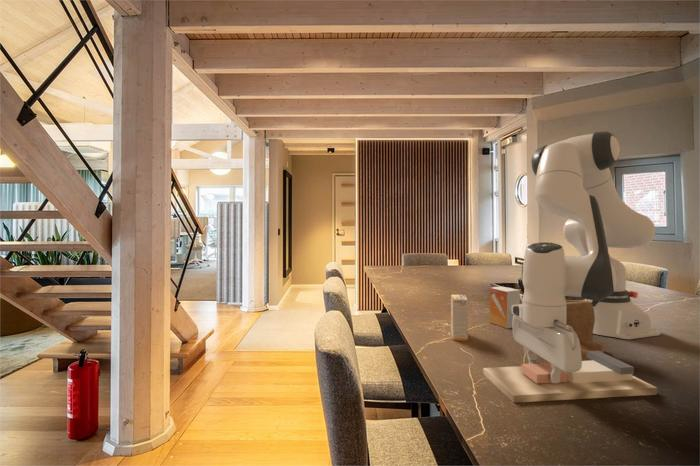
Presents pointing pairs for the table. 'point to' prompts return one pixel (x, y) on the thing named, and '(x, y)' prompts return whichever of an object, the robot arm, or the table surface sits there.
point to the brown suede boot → (582, 325)
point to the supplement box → (459, 317)
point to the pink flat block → (540, 372)
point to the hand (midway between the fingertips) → (543, 374)
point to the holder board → (561, 387)
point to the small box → (503, 305)
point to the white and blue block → (601, 369)
